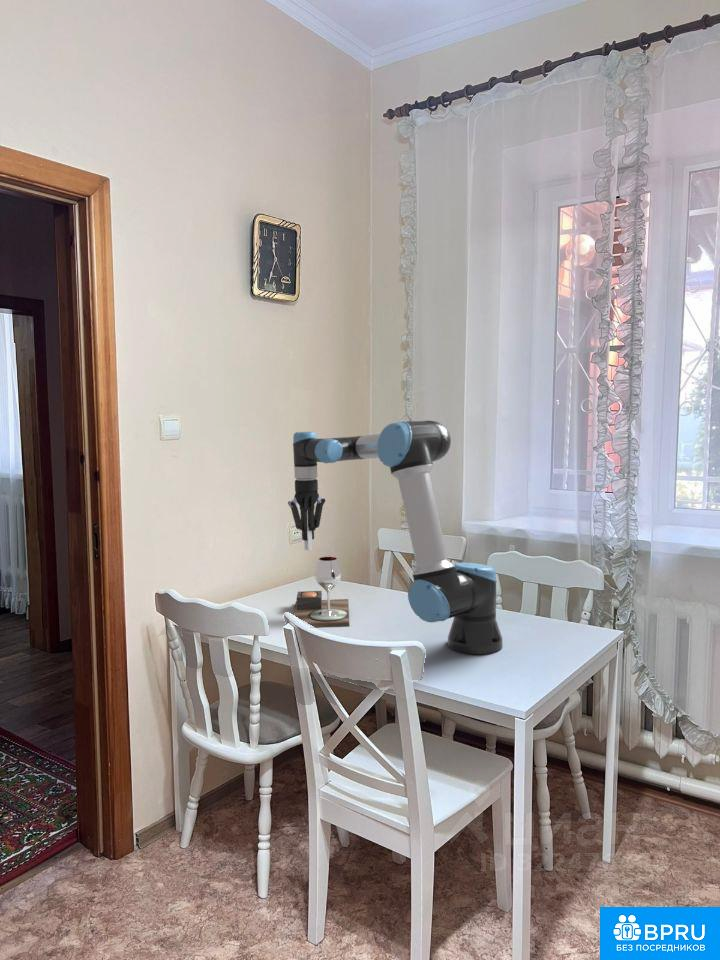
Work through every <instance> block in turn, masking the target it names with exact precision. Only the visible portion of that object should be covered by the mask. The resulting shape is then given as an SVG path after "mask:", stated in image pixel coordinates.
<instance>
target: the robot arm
mask: <svg viewBox="0 0 720 960" xmlns="http://www.w3.org/2000/svg"><path fill="white" fill-rule="evenodd" d="M292 438H293V443H292V447H293V448H292V450H293V466H294V467H293V468H294V469H293V470H294V491H295V494H294V496H293V499H292V500H290V501H288V502H287V504H288V506H289V508H290V509H291V513H292V517H293V522H294V524H295V525H294V526H295V528H296V529H297V530H299V531H301V539H302V540H303V541H304V550H305V551H308V552H309V551H313V540H314V539H315V531H316V529H317V528H320V523H321V519H322V512H323V507H324V504H325V502H326V499H325V498H322V497H321V496H320V494H319V493H318V492H319V491H318V489H319V488H318V487H319V483H318V479H317V478H318V463H322V464H323V463H324V464H334V463H337V462H342V461H354V460H355V461H356V460H366V459H379V460H380V462H382V464H383V465H384V466H386V467H388V468H389V471H390V475H391V476H392V477H394V478H396V480H397V482H398V485H399V489H400V493H401V494H400V495H401V497H402V498H401V499H402V502H403V509H404V513H405V518H406V522H407V528H408V533H409V537H410V541H411V547H412V551H413V556H414V560H415V561H414V562H415V565H416V566H415V569H414V570H413V573H412V579H413V582H412V583H411V584H410V585H409V587H408V591H407V599H408V604H409V605H410V608H411V609H412V611H413V613H414V614H415V615H416V616H417V617H419V619H420V620H422V621H424V622H426V623H436V622H437V623H438V622H444V621H446V620H448V619H451V618H452V619H453V620H452V623H451V625H450V629H449V633H448V635H447V646H448V648H450V649H451V650H452V651H454V652H458V653H462V654H468V655H488V654H493V653H496V652H499V651H500V650H502V648H503V636H502V633H501V631H500V627H499V624H498V621H497V579H496V578H497V576H496V570H495V568H493V567H492V566H490V565H486V564H483V563H482V564H481V563H474V562H457V563H453V562H451V561H449V558H448V554H447V549H446V544H445V539H444V535H443V530H442V526H441V521H440V517H439V512H438V508H437V504H436V503H437V502H436V498H435V493H434V489H433V484H432V480H431V476H430V472H431V470H432V469H433V467H434V464H433V462H437V461H439V460H441V459H442V458H444V457H445V456H446V455H447V454H448V452H449V451H450V448H451V441H452V439H451V434H450V431H449V430H448V429H447V427H446V426H445V425H443V424H442V423H440V422H438V421H435V420H421V421H420V420H413V421H411V420H410V421H407V420H406V421H404V420H403V421H402V420H401V421H398V422H392V423H389V424H387V425H386V426H384V428H382V430H381V432H380V433H374V434H367V435H357V436H346V437H329V438H328V437H327V438H317V433H316V432H315V431H297V432H295V433H293V437H292ZM315 504H316V505H315ZM298 506H299V508H298ZM299 510H300V512H299Z"/></svg>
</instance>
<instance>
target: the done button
mask: <svg viewBox="0 0 720 960" xmlns="http://www.w3.org/2000/svg"><path fill="white" fill-rule="evenodd" d="M316 596H317V593H315V592H305V593H302V597H316Z"/></svg>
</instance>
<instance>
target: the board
mask: <svg viewBox="0 0 720 960" xmlns="http://www.w3.org/2000/svg"><path fill="white" fill-rule="evenodd" d="M305 592H315V593H317V596H316V597H302V593H305ZM322 596H323V591H322V590H312V591H311V590H309V591H308V590H306V591H305V590H304V591H297V595H296V600H295V604H294V609H293V612H292V615H293V614H294V615H295V616H296V617H298V618H299V619H301V620H303V621H305V622H307V623H308V624H310V625H312V626H314V627H313V628H333V627H350V609H349V607H350V606H349V599H348V598H340V599H339V598H338V599H336V598H335V599H330V610H334V611H338V612H339V614H338V615H337V616H333V617H323V616H320V615H319V612H321V611H325V610H327V599H323V597H322Z"/></svg>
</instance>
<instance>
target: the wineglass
mask: <svg viewBox="0 0 720 960" xmlns="http://www.w3.org/2000/svg"><path fill="white" fill-rule="evenodd" d="M314 575H315V576H314V577H315V581H316V582H317V584H318V585H319V586H320V587H322V588H323V589H324V590H325V592H326V595H327V597H326V600H327V610H325V611H321V612H319V615H320V616H323V617H333V616H337V615H338V614H339V612H338V611H334V610H330V600H331V597H330V596H331V595H330V593H331V590H333V588H335V587H336V586H337V585H338V584H339V583H340V580H341V578H342V573H341V568H340V565H339V561H338V558H337V557H335V556H322V557H319V558H318V561H317V565H316V570H315V574H314Z"/></svg>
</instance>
